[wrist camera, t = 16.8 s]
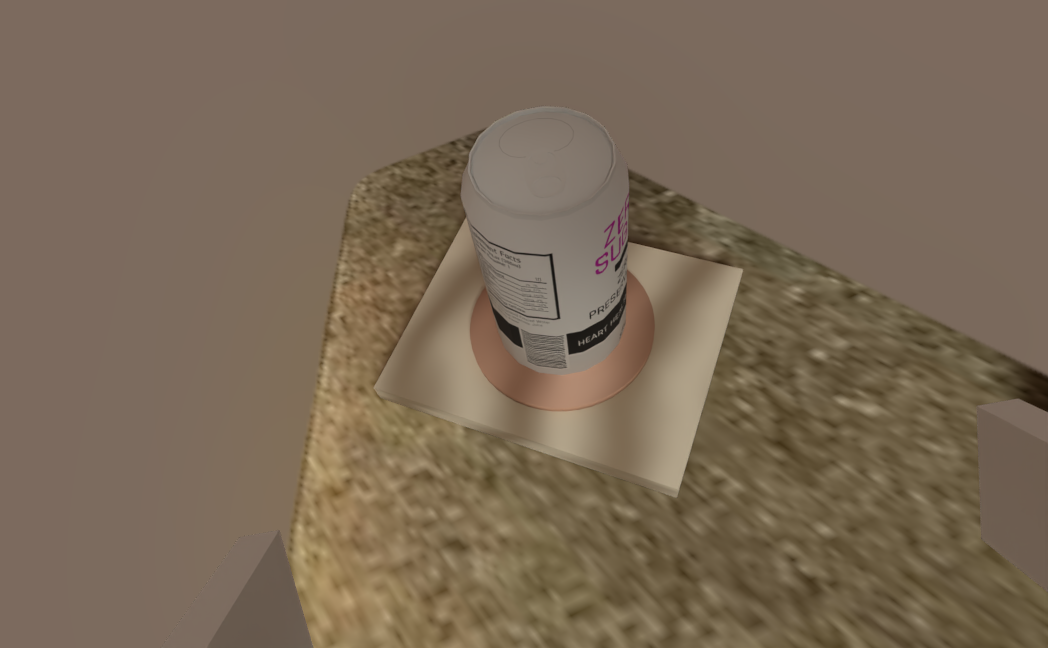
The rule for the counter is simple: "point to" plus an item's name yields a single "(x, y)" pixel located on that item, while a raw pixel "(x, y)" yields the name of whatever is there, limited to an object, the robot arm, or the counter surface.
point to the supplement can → (551, 235)
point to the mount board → (583, 397)
